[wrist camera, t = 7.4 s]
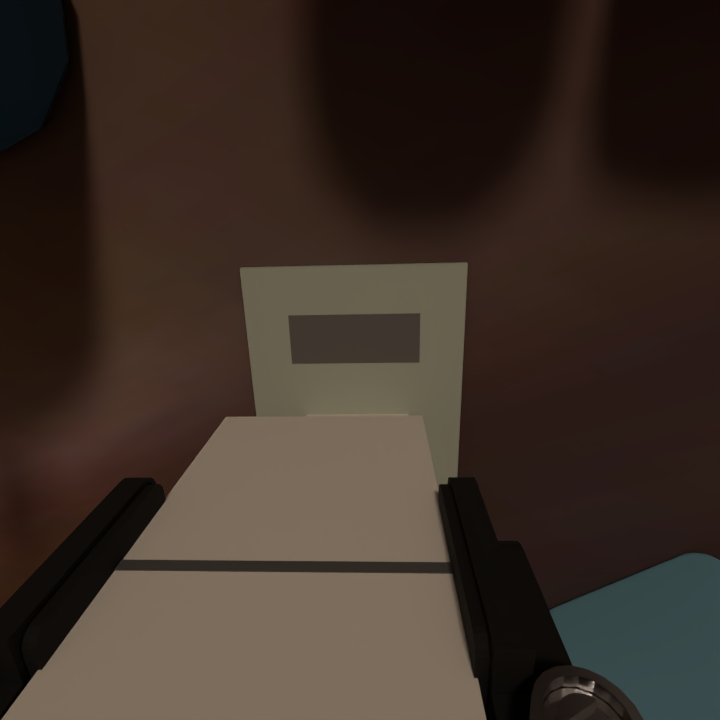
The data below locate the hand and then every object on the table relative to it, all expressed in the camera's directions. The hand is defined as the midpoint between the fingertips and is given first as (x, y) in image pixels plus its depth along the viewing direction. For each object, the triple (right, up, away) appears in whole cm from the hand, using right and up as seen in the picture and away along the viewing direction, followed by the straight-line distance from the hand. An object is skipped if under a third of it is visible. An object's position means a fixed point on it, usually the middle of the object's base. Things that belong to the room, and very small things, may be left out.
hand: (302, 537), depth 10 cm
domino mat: (+1, -6, +19) cm, 20 cm away
